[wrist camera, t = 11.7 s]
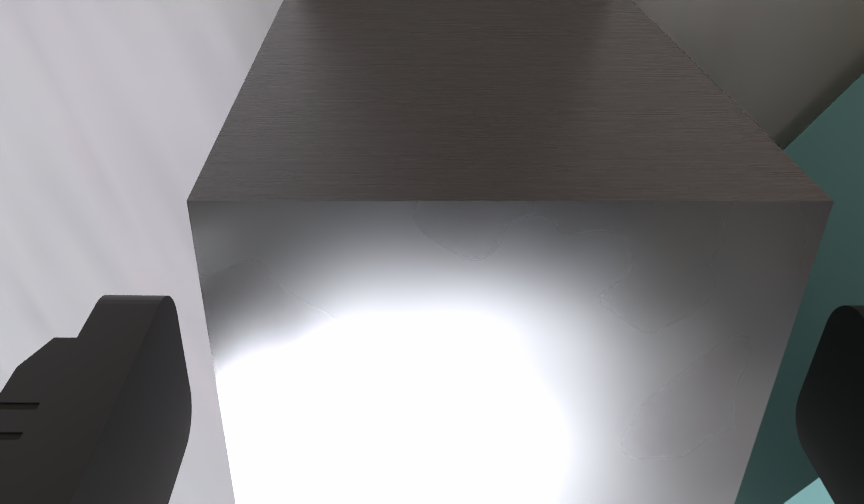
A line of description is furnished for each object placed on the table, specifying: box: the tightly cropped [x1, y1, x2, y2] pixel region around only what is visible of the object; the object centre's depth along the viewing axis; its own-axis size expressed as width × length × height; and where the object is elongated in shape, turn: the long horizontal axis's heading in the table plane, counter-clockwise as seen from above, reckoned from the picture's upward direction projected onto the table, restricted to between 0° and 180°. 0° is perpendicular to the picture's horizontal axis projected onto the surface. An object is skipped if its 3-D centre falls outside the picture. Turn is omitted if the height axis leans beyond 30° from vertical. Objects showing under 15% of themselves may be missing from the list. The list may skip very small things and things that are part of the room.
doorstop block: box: [187, 0, 834, 504], centre depth 12 cm, size 6×6×8 cm
